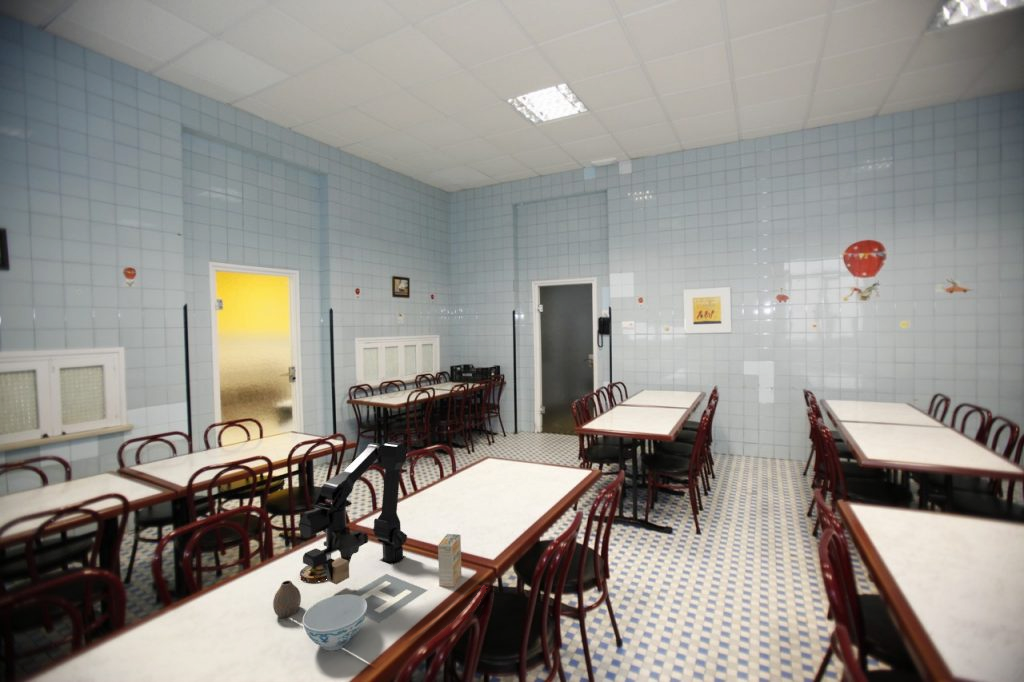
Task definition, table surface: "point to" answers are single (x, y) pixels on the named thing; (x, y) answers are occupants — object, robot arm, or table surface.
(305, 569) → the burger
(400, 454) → the robot arm
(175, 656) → the table surface
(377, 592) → the letter board
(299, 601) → the vase
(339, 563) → the walnut block
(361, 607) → the chinaware
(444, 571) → the supplement box
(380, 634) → the table surface
